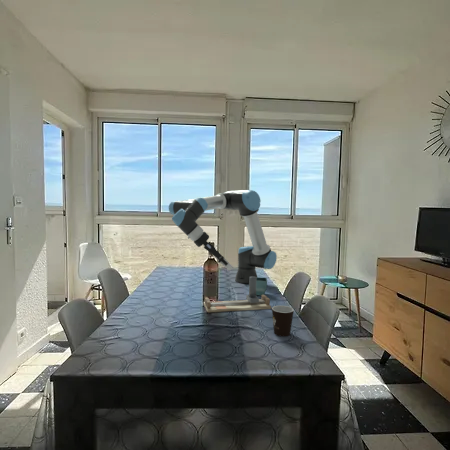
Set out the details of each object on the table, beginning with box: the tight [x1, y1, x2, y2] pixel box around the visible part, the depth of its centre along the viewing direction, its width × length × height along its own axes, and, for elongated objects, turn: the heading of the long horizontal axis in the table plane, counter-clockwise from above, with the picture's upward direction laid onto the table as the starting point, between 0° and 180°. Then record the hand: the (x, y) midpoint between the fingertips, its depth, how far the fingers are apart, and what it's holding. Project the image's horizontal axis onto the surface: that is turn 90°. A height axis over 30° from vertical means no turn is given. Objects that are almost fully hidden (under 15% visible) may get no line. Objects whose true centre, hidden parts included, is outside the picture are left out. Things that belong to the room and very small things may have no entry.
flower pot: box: [256, 276, 268, 296], centre depth 184 cm, size 9×9×9 cm
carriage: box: [245, 276, 260, 303], centre depth 163 cm, size 7×4×12 cm, turn 13°
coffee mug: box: [271, 305, 294, 338], centre depth 131 cm, size 12×9×10 cm
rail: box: [203, 294, 272, 313], centre depth 162 cm, size 12×32×4 cm, turn 103°
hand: (228, 266), depth 160 cm, fingers open, 13 cm apart
